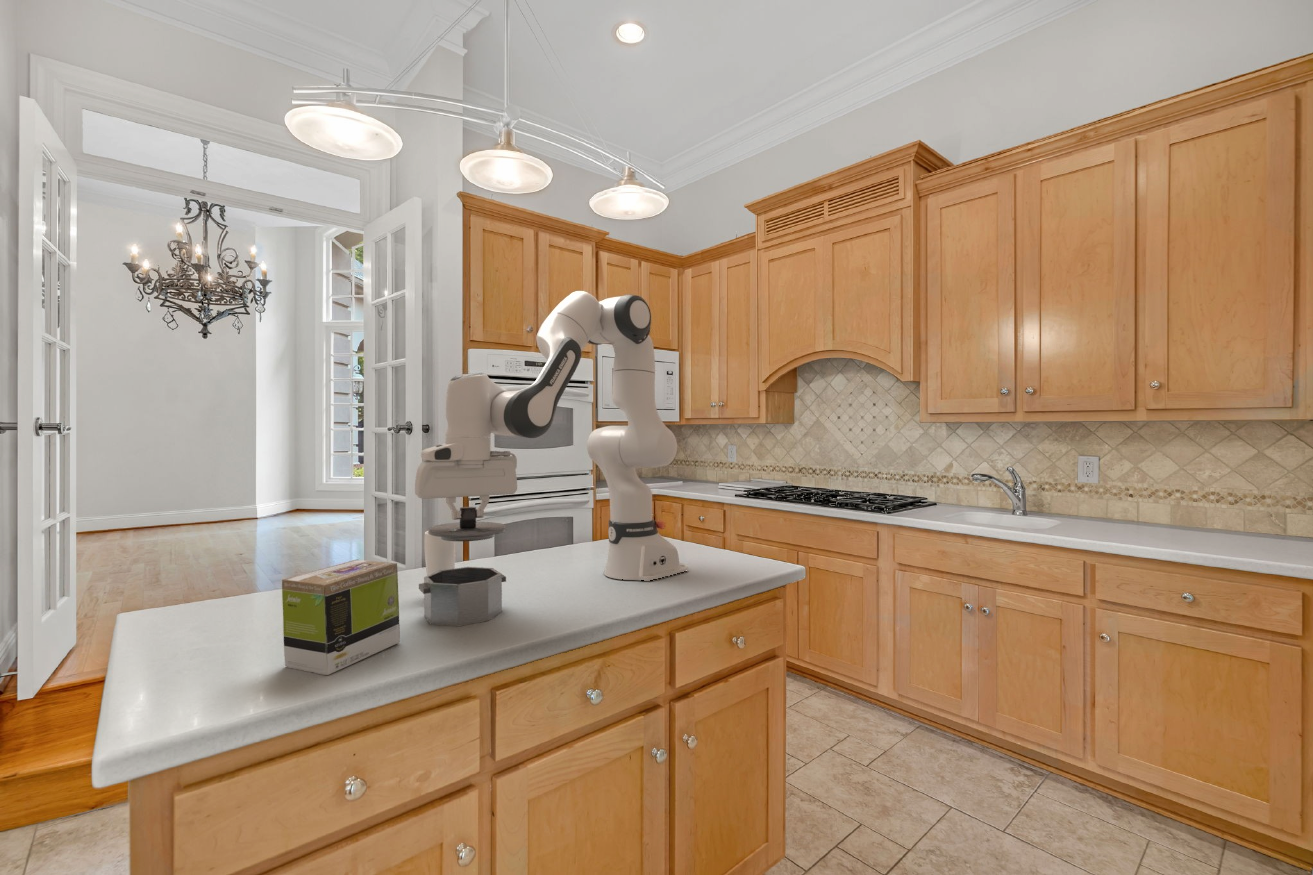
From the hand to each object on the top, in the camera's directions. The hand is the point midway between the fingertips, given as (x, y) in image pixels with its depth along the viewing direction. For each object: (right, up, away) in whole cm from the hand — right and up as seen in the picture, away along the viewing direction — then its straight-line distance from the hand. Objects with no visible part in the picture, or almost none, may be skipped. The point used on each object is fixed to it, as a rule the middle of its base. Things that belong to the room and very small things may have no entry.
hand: (467, 518), depth 121 cm
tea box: (-14, -21, -21) cm, 33 cm away
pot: (-1, -20, +1) cm, 20 cm away
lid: (0, -4, 0) cm, 4 cm away
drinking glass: (-10, -20, +13) cm, 26 cm away
